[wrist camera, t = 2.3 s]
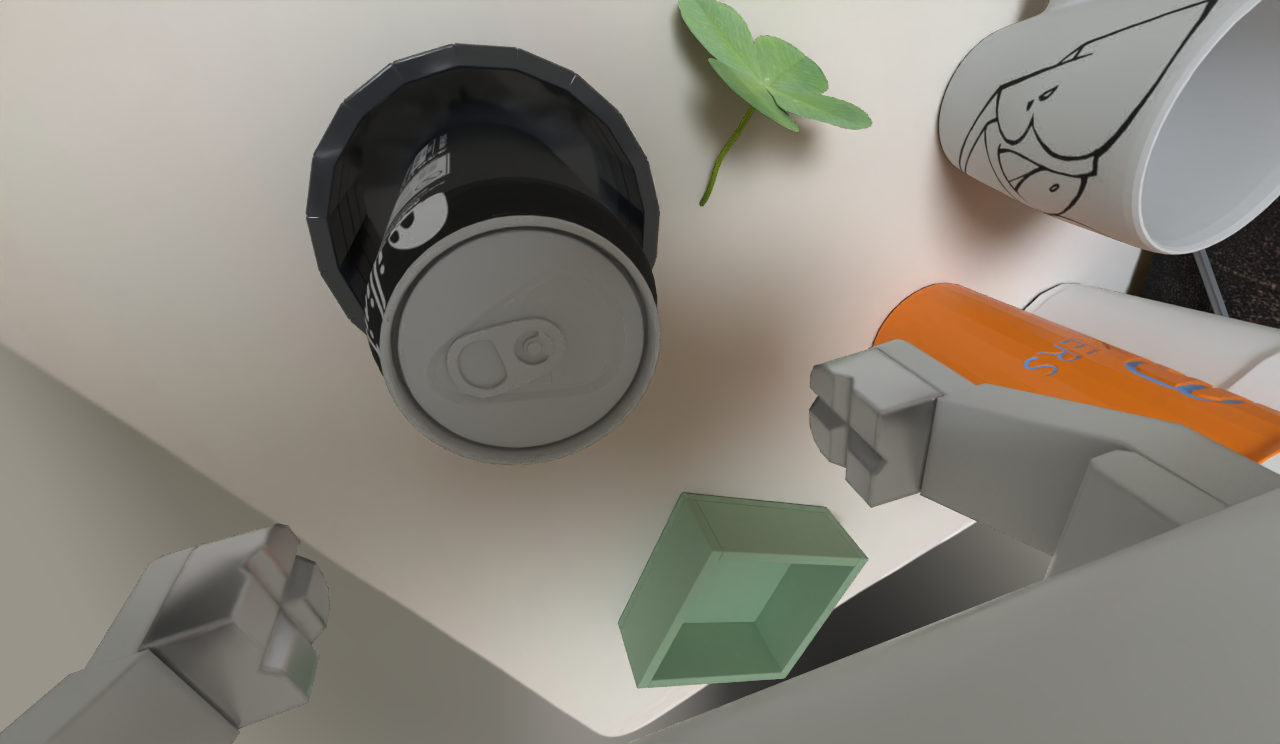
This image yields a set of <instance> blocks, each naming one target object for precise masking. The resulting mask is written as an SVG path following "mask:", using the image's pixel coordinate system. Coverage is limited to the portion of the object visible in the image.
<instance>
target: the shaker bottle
mask: <svg viewBox="0 0 1280 744" xmlns="http://www.w3.org/2000/svg"><path fill="white" fill-rule="evenodd" d="M895 339H899V340H905V341H907V342H909V343H911V344H912V345H914V346H915V347H917V348H918V349H920V350H922V351H923V352H925V353H926V354H928V355H929V356H931V357H933V358H934V359H936V360H937V361H939V362H940V363H942V364H944V365H945V366H947V367H948V368H950V369H951V370H953V371H955V372H956V373H958V374H959V375H961V376H962V377H964V378H966V379H967V380H969V381H970V382H972V383H973V384H975V385H980V384H983V383H988V384H993V385H998V386H1002V387H1007V388H1012V389H1017V390H1021V391H1026V392H1031V393H1036V394H1041V395H1045V396H1050V397H1055V398H1060V399H1064V400H1069V401H1074V402H1079V403H1083V404H1088V405H1093V406H1098V407H1102V408H1107V409H1112V410H1117V411H1121V412H1126V413H1131V414H1136V415H1141V416H1145V417H1150V418H1155V419H1160V420H1164V421H1169V422H1174V423H1179V424H1183V425H1185V426H1186V427H1188V428H1190V429H1192V430H1194V431H1196V432H1198V433H1200V434H1202V435H1204V436H1206V437H1208V438H1210V439H1212V440H1214V441H1216V442H1218V443H1219V444H1221V445H1223V446H1225V447H1227V448H1229V449H1231V450H1233V451H1235V452H1237V453H1239V454H1241V455H1243V456H1245V457H1247V458H1249V459H1250V460H1252V461H1254V462H1256V463H1258V464H1260V465H1262V466H1264V467H1266V468H1268V469H1270V470H1272V471H1274V472H1276V473H1278V474H1280V411H1277V410H1275V409H1272V408H1270V407H1267V406H1265V405H1262V404H1260V403H1254V402H1253V401H1251V400H1249V399H1246V398H1244V397H1242V396H1239V395H1237V394H1234V393H1232V392H1229V391H1227V390H1224V389H1222V388H1212V387H1213V385H1210V384H1208V383H1206V382H1204V381H1201V380H1199V379H1196V378H1193V377H1187V376H1186V375H1185V374H1182V373H1180V372H1178V371H1176V370H1173V369H1171V368H1168V367H1166V366H1163V365H1161V364H1158V363H1154V362H1152V361H1150V360H1148V359H1146V358H1143V357H1141V356H1138V355H1135V354H1133V353H1130V352H1128V351H1125V350H1123V349H1120V348H1118V347H1115V346H1113V345H1110V344H1108V343H1105V342H1102V341H1100V340H1097V339H1095V338H1092V337H1090V336H1087V335H1085V334H1082V333H1080V332H1077V331H1075V330H1072V329H1070V328H1067V327H1064V326H1062V325H1059V324H1057V323H1054V322H1052V321H1049V320H1047V319H1044V318H1042V317H1039V316H1037V315H1034V314H1032V313H1029V312H1026V311H1024V310H1021V309H1019V308H1016V307H1014V306H1011V305H1009V304H1006V303H1004V302H1001V301H999V300H996V299H994V298H991V297H988V296H986V295H983V294H981V293H978V292H976V291H973V290H971V289H968V288H966V287H963V286H961V285H958V284H952V283H940V284H935V285H931V286H928V287H925V288H923V289H921V290H919V291H917V292H915V293H914V294H912V295H911V296H910V297H908V298H907V299H905V300H904V301H903V302H902V303H901V304H900V305H899V306H898V307H896V308H895V309H894V311H893V312H892V313H891V314H890V315H889V317H888V318H887V319H886V320H885V322H884V324H883V325H882V327H881V329H880V330H879V332H878V335H877V337H876V339H875V342H874V345H873V347H874V346H877V345H880V344H883V343H886V342H889V341H892V340H895Z"/></svg>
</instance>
